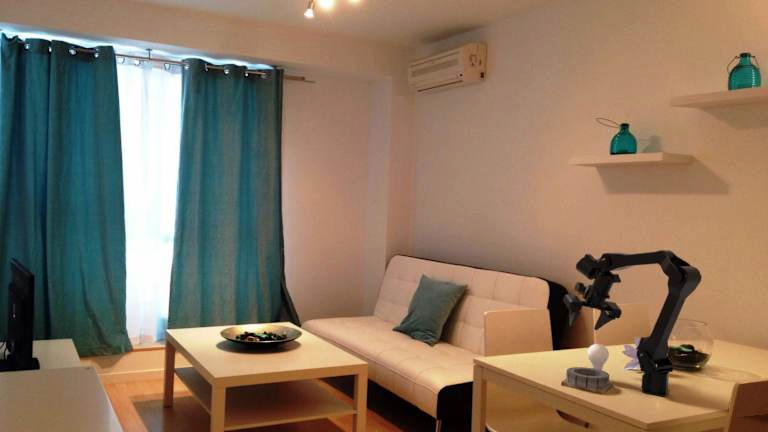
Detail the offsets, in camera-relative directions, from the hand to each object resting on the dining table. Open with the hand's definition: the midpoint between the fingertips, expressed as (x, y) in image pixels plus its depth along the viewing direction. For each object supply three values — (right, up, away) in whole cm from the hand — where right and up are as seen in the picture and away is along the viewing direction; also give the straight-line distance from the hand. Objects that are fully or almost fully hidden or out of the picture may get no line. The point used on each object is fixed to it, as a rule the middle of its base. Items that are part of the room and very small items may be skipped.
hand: (582, 327), depth 218 cm
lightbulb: (+1, -14, -11) cm, 18 cm away
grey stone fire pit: (-5, -14, -19) cm, 24 cm away
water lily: (+20, -15, +3) cm, 25 cm away
